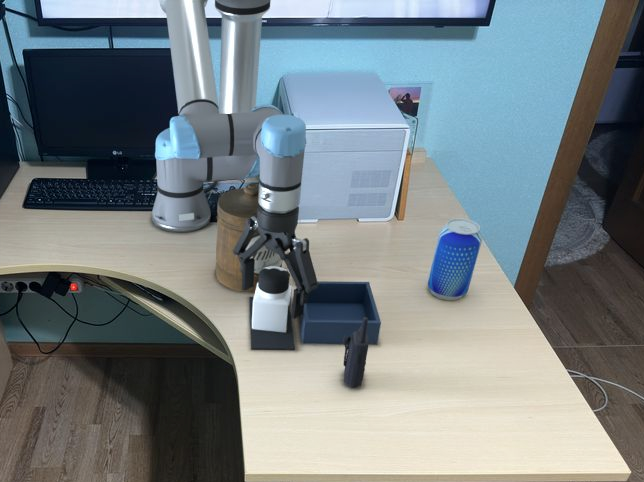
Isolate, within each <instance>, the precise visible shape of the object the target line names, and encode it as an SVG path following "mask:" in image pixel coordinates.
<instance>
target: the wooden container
mask: <svg viewBox="0 0 644 482" xmlns="http://www.w3.org/2000/svg"><path fill="white" fill-rule="evenodd" d="M258 197H259V184H257V183H249V184H247V185H245V186H244V187H241V188H235V189H231V190H229V191H227V192H225V193H223V194H221V196H219V198H218V200H217V207H216V208H217V209H216V212H217V221H216V222H217V223H216V245H215V246H216V249H215V253H216V254H215V261H216V262H215V276H216V278H217V280H218V282H219V283H220V284H221V285H223V286H225V287H226V288H228V289H231V290H234V291H237V292H244V293H255V291H256V287H257V283H258V279H259V272H260V271H261V270H262V269H263V268H265V267H269V266H278V267H282V268H283V261H284V260H282V259H281V258H280V256H279V254H276V253H274V252H273V251H272V250H268V249H266V247H265V245H264V246H263V247H262V248H261V249H260V250H259V251H257V252H256V253H255V254H254V256H252V257H250V259H251V258H253V259H255V265H254V285H253V287H251V288H249V289H248V290H246V291H243V290H242V273H241V271H240V270H241V260H240V259H239V256H238V255H234V253H233V250H234V248H235V246H236V244H237V242H238V240H239V239H240V237H241V235H242V233H243V231H244V229H245V224H246V220H247V219H249V218H251V217H253V216H255V215H257V212H258V205H259V203H258ZM260 237H261V236H260V234H259V232H258V229H257V230H256V232H255V234H254V236H253V237H252V239H251V241H250V243H249V245H248V246H247V248H246V250H247V249H248V248H249V247H250V246H252V245H253V244H254V242H255V241H256V240H258V239H259V238H260Z"/></svg>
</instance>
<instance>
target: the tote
mask: <svg viewBox="0 0 644 482" xmlns="http://www.w3.org/2000/svg"><path fill="white" fill-rule="evenodd" d="M317 282H318V286H319V287H318V288H317V289H315V290H313V291H312V292H310V293H308V301H307V303H305V304H304V311H303V314H302V315H300V316H299V317H298V319H299V326H300V335H301V341H302V344H305V345H306V344H308V345H310V344H312V345H313V344H314V345H318V344H319V345H344V343H343V338H344V336H348V337H349V338H350V336H351V335H352V333H353V332H356V331H359V328H360V327H361V326H362V322H363V318H364V317H367V318H368V322H367V330H366V333H367V334H368V337H369V345H378V341H379V336H380V332H381V325H382V321H381V318H380V314H379V311H378V308H377V304H376V301H375V298H374V294H373V291H372V287H371V283H370V281H329V280H328V281H327V280H326V281H325V280H323V281H318V280H317ZM302 284H303V282H302Z"/></svg>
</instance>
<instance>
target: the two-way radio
mask: <svg viewBox="0 0 644 482" xmlns="http://www.w3.org/2000/svg"><path fill="white" fill-rule="evenodd" d="M367 322H368V318H367V317H364V318H363V322H362V326H361V327H360V328H359V331H356V332H353V333H352V335H351V336H350V338H349V337H348V336H344V338H343V343H344V344H343V345H344V355H343V363H342V364H343V366H344V371H343V381H344V384H345V385H346V386H348V387H350V388H360V387H361V386H362V383H363V380H364V374H365V371H366V364H367V358H368V357H367V356H368V351H369V346H370V344H369V337H368V334H367V333H366V330H367Z"/></svg>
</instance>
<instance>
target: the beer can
mask: <svg viewBox="0 0 644 482" xmlns="http://www.w3.org/2000/svg"><path fill="white" fill-rule="evenodd" d="M482 242H483V236H482V232H481V226H480V224H479V223H478V222H476V221H474V220H472V219H468V218H463V217H455V218H450V219H449V220H448V221H447V222H446V224H445V226H443V227H442V228H441V229H440V231H439V232H438V238H437V242H436V246H435V250H434V254H433V259H432V263H431V268H430V271H429V275H428V280H427V288H428V289H429V291H430V293H431V294H432V295H433V296H434V297H436V298H438V299H441V300H445V301H455V300H459V299H461V298H462V297H463V296H465V295H466V294H467V293H468V291H469V288H470V284H471V281H472V277H473V274H474V270H475V267H476V264H477V259H478V257H479V253H480V249H481V246H482Z"/></svg>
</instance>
